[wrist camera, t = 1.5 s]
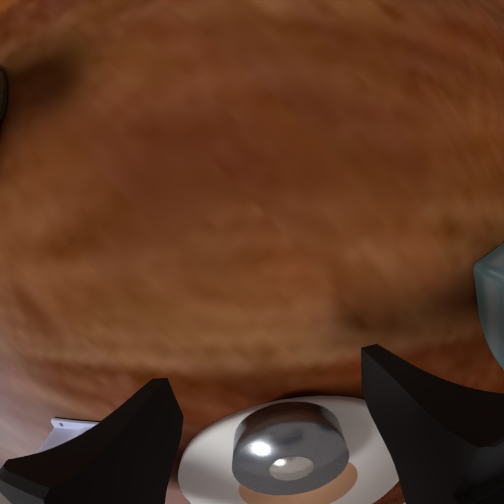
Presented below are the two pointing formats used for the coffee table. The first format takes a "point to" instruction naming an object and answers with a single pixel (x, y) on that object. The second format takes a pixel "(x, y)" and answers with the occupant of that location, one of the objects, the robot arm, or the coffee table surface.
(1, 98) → the owl figurine
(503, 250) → the flower pot
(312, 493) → the turntable
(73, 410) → the coffee table surface
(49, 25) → the coffee table surface
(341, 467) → the cast cover
